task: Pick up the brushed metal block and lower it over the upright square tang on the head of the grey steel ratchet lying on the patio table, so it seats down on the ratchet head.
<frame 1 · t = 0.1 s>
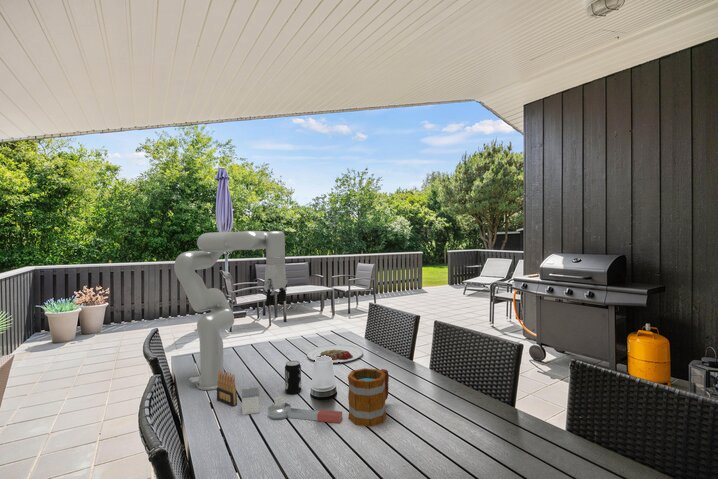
hand: (276, 302, 156), 37 cm above the table, tool pointing down, fingers open, 9 cm apart
brushed metal block: (250, 410, 141), on the table
plated food: (335, 356, 204), on the table
mug: (372, 414, 136), on the table
beverage can: (293, 392, 157), on the table
ammunition clip: (226, 403, 148), on the table
ratchet: (279, 414, 137), on the table
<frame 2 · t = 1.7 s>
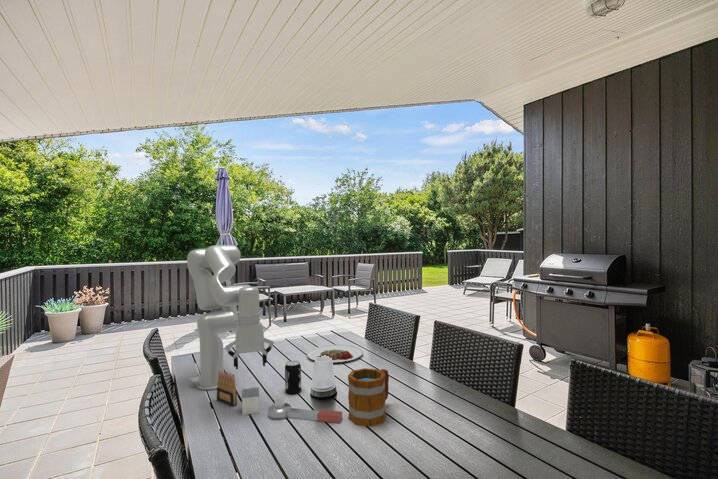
hand: (250, 366, 140), 16 cm above the table, tool pointing down, fingers open, 9 cm apart
nothing on the table moved.
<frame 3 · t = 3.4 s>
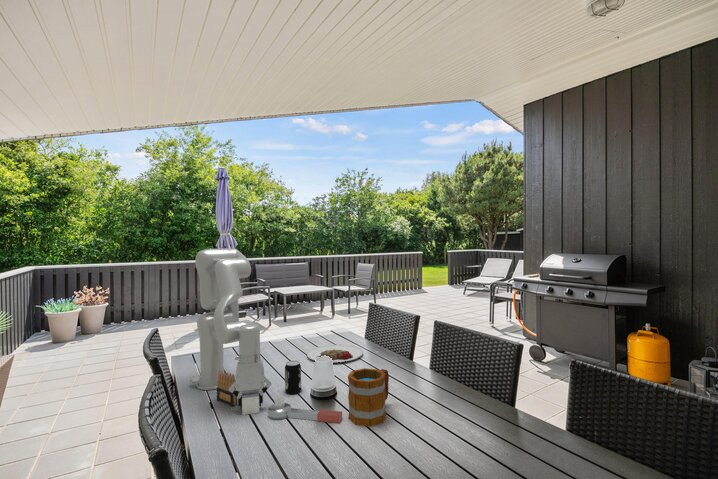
hand: (250, 405, 141), 2 cm above the table, tool pointing down, fingers closed on brushed metal block, 6 cm apart
brushed metal block: (250, 410, 141), on the table, touching gripper
everything else where it was.
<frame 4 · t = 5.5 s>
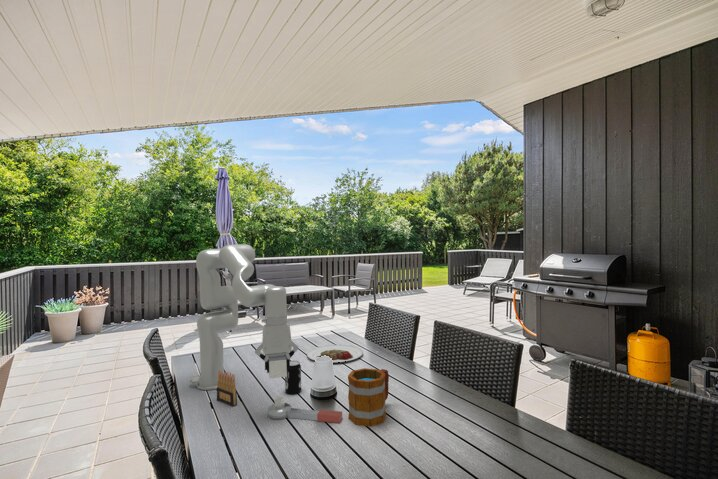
hand: (277, 370, 137), 16 cm above the table, tool pointing down, fingers closed on brushed metal block, 6 cm apart
brushed metal block: (277, 374, 137), point 14 cm above the table, touching gripper
everything else where it was.
when the fingers open (5 cm above the table, at t = 7.5 s): brushed metal block stays where it is, resting on ratchet.
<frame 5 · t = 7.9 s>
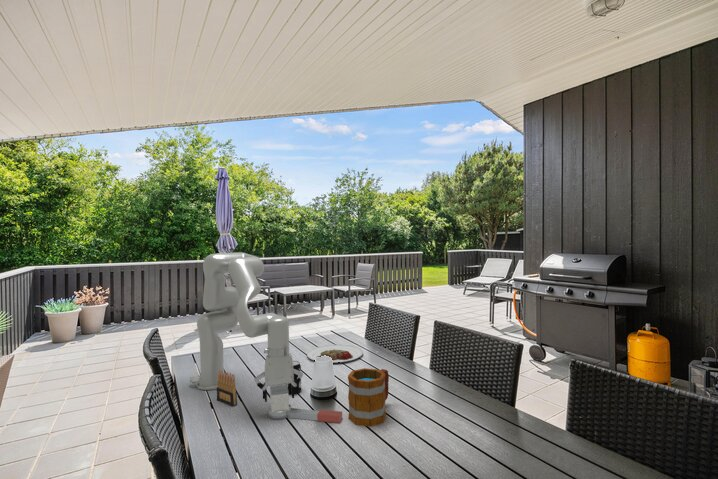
hand: (279, 398, 137), 6 cm above the table, tool pointing down, fingers open, 9 cm apart
brushed metal block: (279, 407, 137), point 2 cm above the table, touching ratchet
everything else where it was.
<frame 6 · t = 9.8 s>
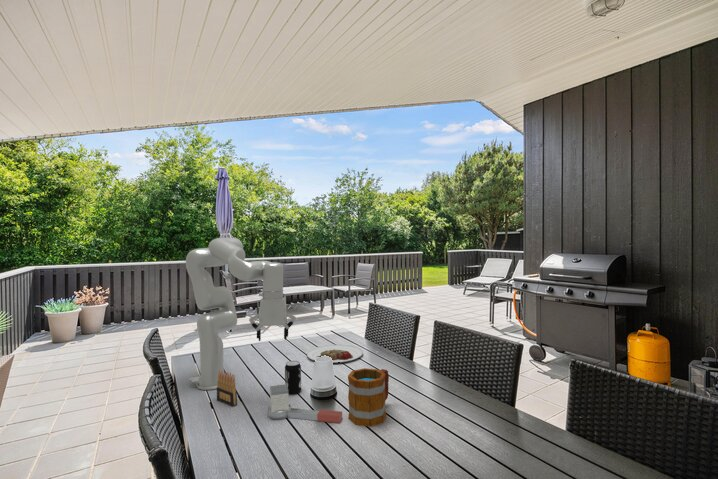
hand: (272, 339, 145), 25 cm above the table, tool pointing down, fingers open, 9 cm apart
nothing on the table moved.
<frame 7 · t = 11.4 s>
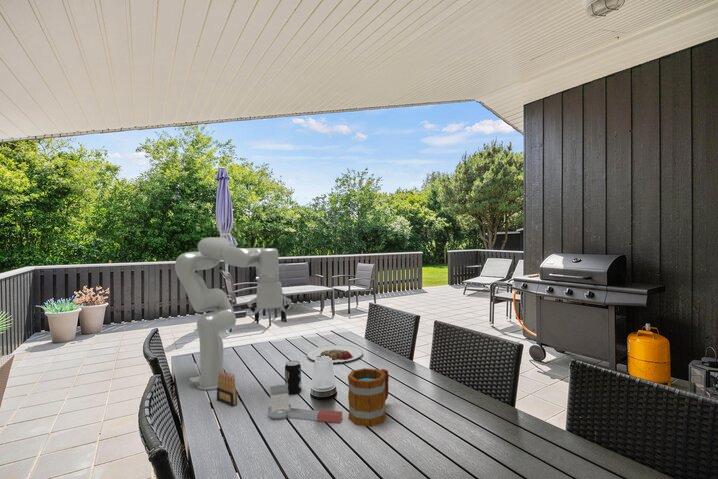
hand: (270, 322, 151), 30 cm above the table, tool pointing down, fingers open, 9 cm apart
nothing on the table moved.
at the end: brushed metal block 0.1 cm off-centre on the ratchet, point 2.5 cm above the ratchet's base; brushed metal block tilted 0°; the gripper is holding nothing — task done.
